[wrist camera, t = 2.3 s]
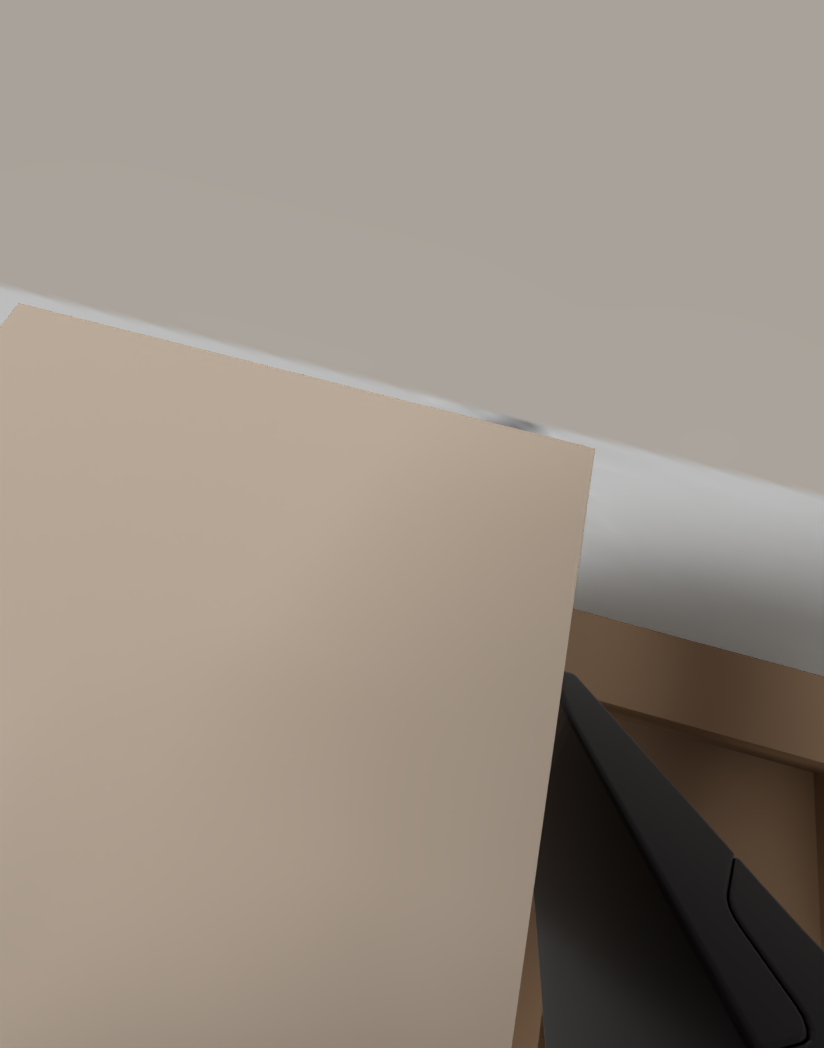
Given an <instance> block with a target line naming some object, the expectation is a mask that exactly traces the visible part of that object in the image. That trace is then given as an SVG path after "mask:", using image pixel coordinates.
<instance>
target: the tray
mask: <svg viewBox="0 0 824 1048" xmlns="http://www.w3.org/2000/svg"><path fill="white" fill-rule="evenodd" d="M564 671H567V672H571V673H573V674H575V675H576V676H577V677H578V678H579V679H580V680H581V682H582V683H583V684H584V685H585V686H586V687H587V688H588V689H589V691H590V692H591V693H592V694H593V695H594V696H595V697H596V698H597V700H598V701H599V702H600V703H601V704H602V705H603V706H604V707H605V709H606V710H607V711H608V712H609V713H610V714H611V715H612V716H613V718H614V719H615V720H616V721H617V722H618V723H619V724H620V725H621V727H622V728H623V729H624V730H625V731H626V732H627V733H628V734H629V736H630V737H631V738H632V739H633V740H634V741H635V742H636V743H637V745H638V746H639V747H640V748H641V749H642V750H643V751H644V752H645V754H646V755H647V756H648V757H649V758H650V759H651V760H652V761H653V763H654V764H655V765H656V766H657V767H658V768H659V769H660V770H661V771H662V773H663V774H664V775H665V776H666V777H667V778H668V779H669V780H670V782H671V783H672V784H673V785H674V786H675V787H676V788H677V789H678V791H679V792H680V793H681V794H682V795H683V796H684V797H685V798H686V800H687V801H688V802H689V803H690V804H691V805H692V806H693V807H694V809H695V810H696V811H697V812H698V813H699V814H700V815H701V816H702V818H703V819H704V820H705V821H706V822H707V823H708V824H709V825H710V827H711V828H712V829H713V830H714V831H715V832H716V833H717V834H718V836H719V837H720V838H721V839H722V840H723V841H724V842H725V843H726V845H727V846H728V847H729V848H730V849H731V850H732V851H733V853H734V858H738V859H740V860H741V861H742V862H743V863H744V865H745V866H746V867H747V868H748V869H749V870H750V871H751V872H752V874H753V875H754V876H755V877H756V878H757V879H758V880H759V881H760V883H761V884H762V885H763V886H764V887H765V888H766V889H767V890H768V891H769V893H770V894H771V895H772V896H773V897H774V898H775V899H776V900H777V901H778V902H779V903H780V904H781V906H782V907H783V908H784V909H785V910H786V911H787V912H788V913H789V914H790V915H791V917H792V918H793V919H794V920H795V921H796V922H797V923H798V924H799V925H800V926H801V927H802V928H803V930H804V931H805V932H806V933H807V934H808V935H809V936H810V937H811V938H812V939H813V940H814V941H815V942H816V943H817V944H818V945H819V946H820V947H821V948H822V949H823V950H824V677H823V676H820V675H816V674H812V673H808V672H805V671H801V670H797V669H794V668H790V667H786V666H783V665H779V664H775V663H771V662H768V661H764V660H760V659H757V658H753V657H749V656H745V655H742V654H738V653H734V652H731V651H727V650H723V649H719V648H716V647H712V646H708V645H705V644H701V643H697V642H693V641H690V640H686V639H682V638H679V637H675V636H671V635H667V634H664V633H660V632H656V631H653V630H649V629H645V628H641V627H638V626H634V625H630V624H627V623H623V622H619V621H615V620H612V619H608V618H604V617H601V616H597V615H593V614H590V613H586V612H582V611H578V610H575V609H573V611H572V618H571V625H570V632H569V639H568V646H567V654H566V661H565V668H564ZM511 1048H545V1036H544V1023H543V1010H542V997H541V984H540V971H539V958H538V945H537V932H536V919H535V906H534V893H533V897H532V904H531V911H530V919H529V926H528V933H527V940H526V947H525V954H524V962H523V969H522V976H521V983H520V990H519V997H518V1004H517V1012H516V1019H515V1026H514V1033H513V1040H512V1047H511Z"/></svg>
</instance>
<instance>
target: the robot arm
mask: <svg viewBox="0 0 824 1048" xmlns="http://www.w3.org/2000/svg"><path fill="white" fill-rule="evenodd" d="M533 893H534V906H535V919H536V932H537V945H538V958H539V971H540V984H541V997H542V1010H543V1023H544V1036H545V1048H824V950H823V949H822V948H821V947H820V946H819V945H818V944H817V943H816V942H815V941H814V940H813V939H812V938H811V937H810V936H809V935H808V934H807V933H806V932H805V931H804V930H803V928H802V927H801V926H800V925H799V924H798V923H797V922H796V921H795V920H794V919H793V918H792V917H791V915H790V914H789V913H788V912H787V911H786V910H785V909H784V908H783V907H782V906H781V904H780V903H779V902H778V901H777V900H776V899H775V898H774V897H773V896H772V895H771V894H770V893H769V891H768V890H767V889H766V888H765V887H764V886H763V885H762V884H761V883H760V881H759V880H758V879H757V878H756V877H755V876H754V875H753V874H752V872H751V871H750V870H749V869H748V868H747V867H746V866H745V865H744V863H743V862H742V861H741V860H740V859H738V858H734V853H733V851H732V850H731V849H730V848H729V847H728V846H727V845H726V843H725V842H724V841H723V840H722V839H721V838H720V837H719V836H718V834H717V833H716V832H715V831H714V830H713V829H712V828H711V827H710V825H709V824H708V823H707V822H706V821H705V820H704V819H703V818H702V816H701V815H700V814H699V813H698V812H697V811H696V810H695V809H694V807H693V806H692V805H691V804H690V803H689V802H688V801H687V800H686V798H685V797H684V796H683V795H682V794H681V793H680V792H679V791H678V789H677V788H676V787H675V786H674V785H673V784H672V783H671V782H670V780H669V779H668V778H667V777H666V776H665V775H664V774H663V773H662V771H661V770H660V769H659V768H658V767H657V766H656V765H655V764H654V763H653V761H652V760H651V759H650V758H649V757H648V756H647V755H646V754H645V752H644V751H643V750H642V749H641V748H640V747H639V746H638V745H637V743H636V742H635V741H634V740H633V739H632V738H631V737H630V736H629V734H628V733H627V732H626V731H625V730H624V729H623V728H622V727H621V725H620V724H619V723H618V722H617V721H616V720H615V719H614V718H613V716H612V715H611V714H610V713H609V712H608V711H607V710H606V709H605V707H604V706H603V705H602V704H601V703H600V702H599V701H598V700H597V698H596V697H595V696H594V695H593V694H592V693H591V692H590V691H589V689H588V688H587V687H586V686H585V685H584V684H583V683H582V682H581V680H580V679H579V678H578V677H577V676H576V675H575V674H573V673H571V672H567V671H564V675H563V682H562V689H561V697H560V704H559V711H558V718H557V725H556V732H555V740H554V747H553V754H552V761H551V768H550V775H549V783H548V790H547V797H546V804H545V811H544V818H543V825H542V833H541V840H540V847H539V854H538V861H537V868H536V876H535V883H534V890H533Z"/></svg>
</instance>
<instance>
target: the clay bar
mask: <svg viewBox="0 0 824 1048" xmlns="http://www.w3.org/2000/svg"><path fill="white" fill-rule="evenodd" d="M594 453H595V448H591V447H587V446H583V445H579V444H575V443H571V442H567V441H563V440H559V439H555V438H551V437H547V436H543V435H539V434H535V433H531V432H527V431H523V430H519V429H515V428H511V427H507V426H503V425H499V424H495V423H491V422H488V421H484V420H480V419H476V418H472V417H468V416H464V415H460V414H456V413H452V412H448V411H444V410H440V409H436V408H432V407H428V406H424V405H420V404H416V403H412V402H408V401H404V400H400V399H396V398H392V397H388V396H384V395H380V394H377V393H373V392H369V391H365V390H361V389H357V388H353V387H349V386H345V385H341V384H337V383H333V382H329V381H325V380H321V379H317V378H313V377H309V376H305V375H301V374H297V373H293V372H289V371H285V370H281V369H277V368H273V367H270V366H266V365H262V364H258V363H254V362H250V361H246V360H242V359H238V358H234V357H230V356H226V355H222V354H218V353H214V352H210V351H206V350H202V349H198V348H194V347H190V346H186V345H182V344H178V343H174V342H170V341H166V340H163V339H159V338H155V337H151V336H147V335H143V334H139V333H135V332H131V331H127V330H123V329H119V328H115V327H111V326H107V325H103V324H99V323H95V322H91V321H87V320H83V319H79V318H75V317H71V316H67V315H63V314H59V313H55V312H52V311H48V310H44V309H40V308H36V307H32V306H28V305H24V304H20V303H18V305H17V306H16V307H15V308H14V310H13V311H12V312H11V314H10V315H9V316H8V318H7V319H6V320H5V321H4V323H3V324H2V325H1V327H0V1048H511V1047H512V1040H513V1033H514V1026H515V1019H516V1012H517V1004H518V997H519V990H520V983H521V976H522V969H523V962H524V954H525V947H526V940H527V933H528V926H529V919H530V911H531V904H532V897H533V890H534V883H535V876H536V868H537V861H538V854H539V847H540V840H541V833H542V825H543V818H544V811H545V804H546V797H547V790H548V783H549V775H550V768H551V761H552V754H553V747H554V740H555V732H556V725H557V718H558V711H559V704H560V697H561V689H562V682H563V675H564V668H565V661H566V654H567V646H568V639H569V632H570V625H571V618H572V611H573V603H574V596H575V589H576V582H577V575H578V568H579V561H580V553H581V546H582V539H583V532H584V525H585V518H586V510H587V503H588V496H589V489H590V482H591V475H592V467H593V460H594Z"/></svg>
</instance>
